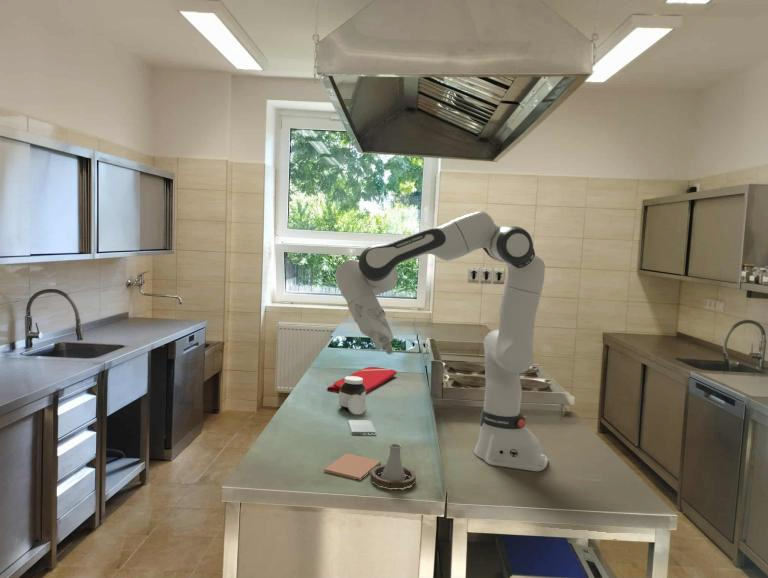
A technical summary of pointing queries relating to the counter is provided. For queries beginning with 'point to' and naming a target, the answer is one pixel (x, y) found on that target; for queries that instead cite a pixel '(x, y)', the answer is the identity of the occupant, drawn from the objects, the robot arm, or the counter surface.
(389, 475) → the flask
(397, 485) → the ring holder
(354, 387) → the spread jar
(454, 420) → the counter surface
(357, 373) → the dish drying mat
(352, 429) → the hard drive
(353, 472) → the terracotta pad
